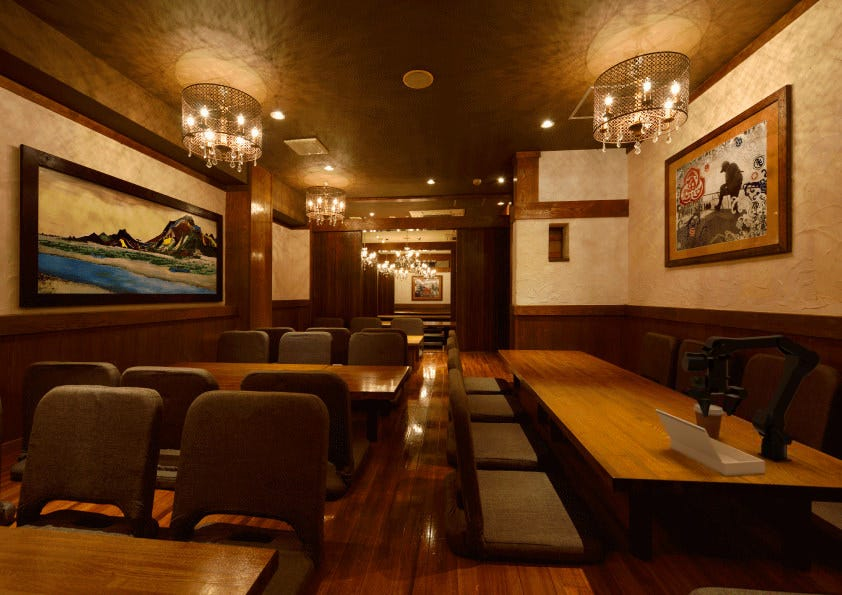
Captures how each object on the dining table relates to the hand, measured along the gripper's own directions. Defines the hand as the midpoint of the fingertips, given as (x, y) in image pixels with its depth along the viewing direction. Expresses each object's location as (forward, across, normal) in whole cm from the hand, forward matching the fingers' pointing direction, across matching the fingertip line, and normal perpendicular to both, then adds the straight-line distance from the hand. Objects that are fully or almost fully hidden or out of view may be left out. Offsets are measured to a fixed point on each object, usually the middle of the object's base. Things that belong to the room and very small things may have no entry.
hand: (717, 416), depth 136 cm
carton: (+13, +6, +5) cm, 15 cm away
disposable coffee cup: (+13, -10, -14) cm, 22 cm away
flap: (+3, +16, +5) cm, 17 cm away
